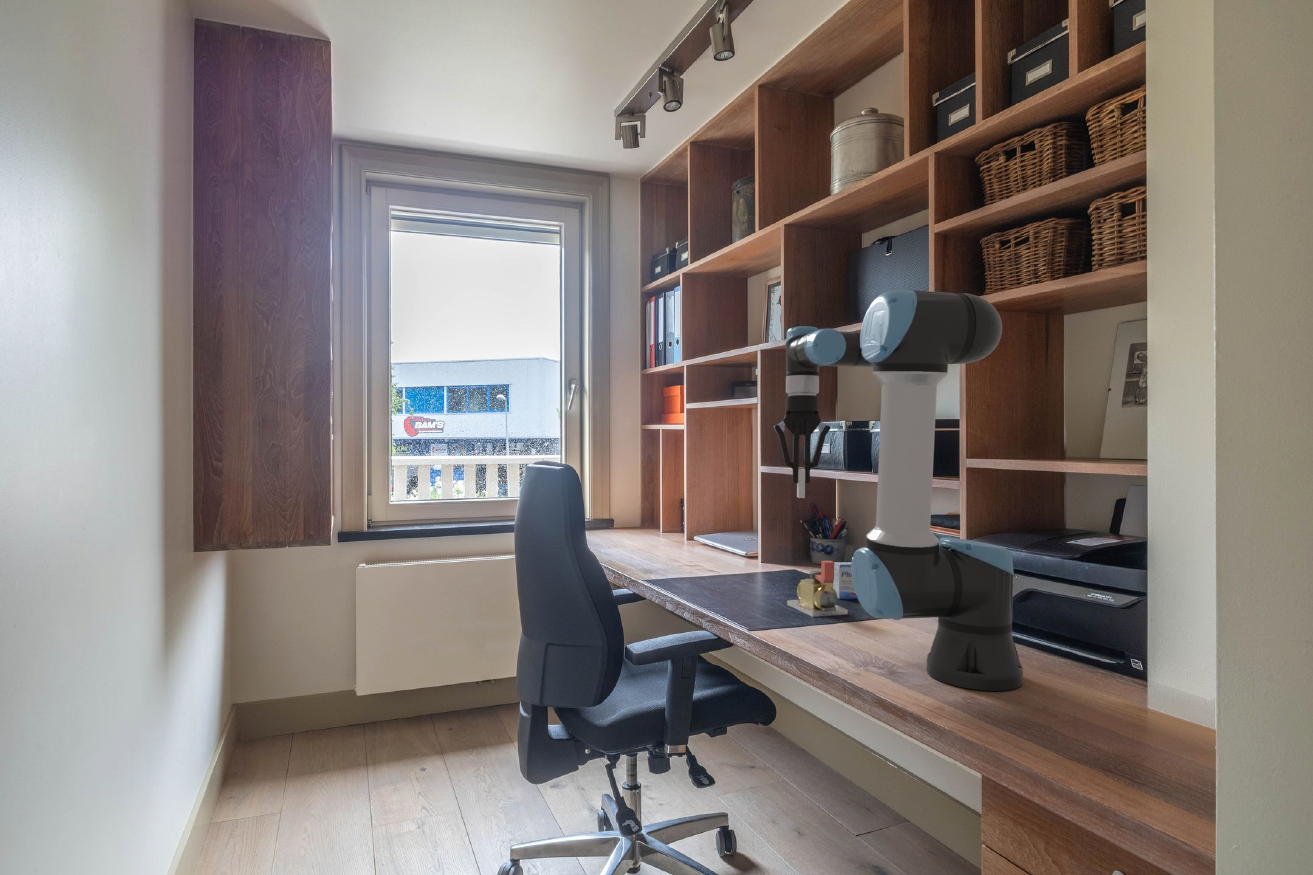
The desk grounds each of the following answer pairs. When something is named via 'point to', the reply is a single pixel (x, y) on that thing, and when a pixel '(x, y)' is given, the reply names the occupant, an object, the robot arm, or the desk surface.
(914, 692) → the desk surface
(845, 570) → the medicine box
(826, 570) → the lever
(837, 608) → the valve fixture
